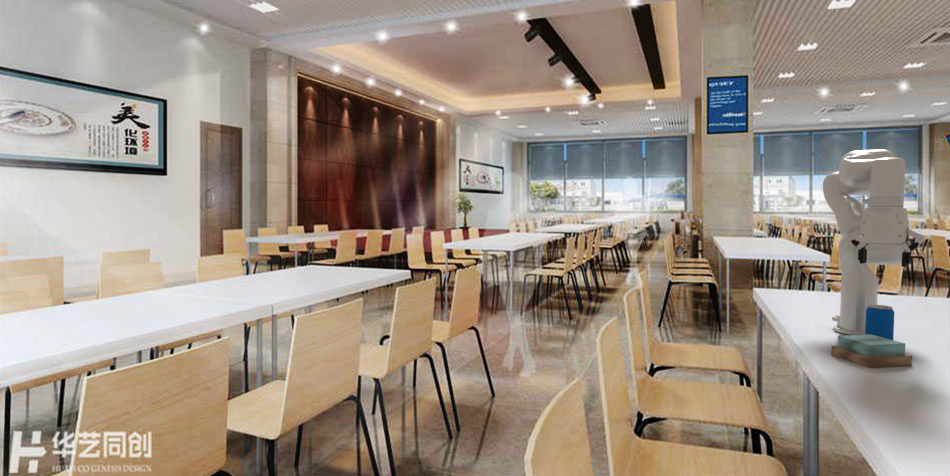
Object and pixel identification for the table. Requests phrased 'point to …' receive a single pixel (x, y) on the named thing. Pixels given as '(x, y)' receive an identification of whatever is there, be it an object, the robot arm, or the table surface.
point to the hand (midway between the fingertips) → (883, 264)
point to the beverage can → (880, 321)
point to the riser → (871, 351)
